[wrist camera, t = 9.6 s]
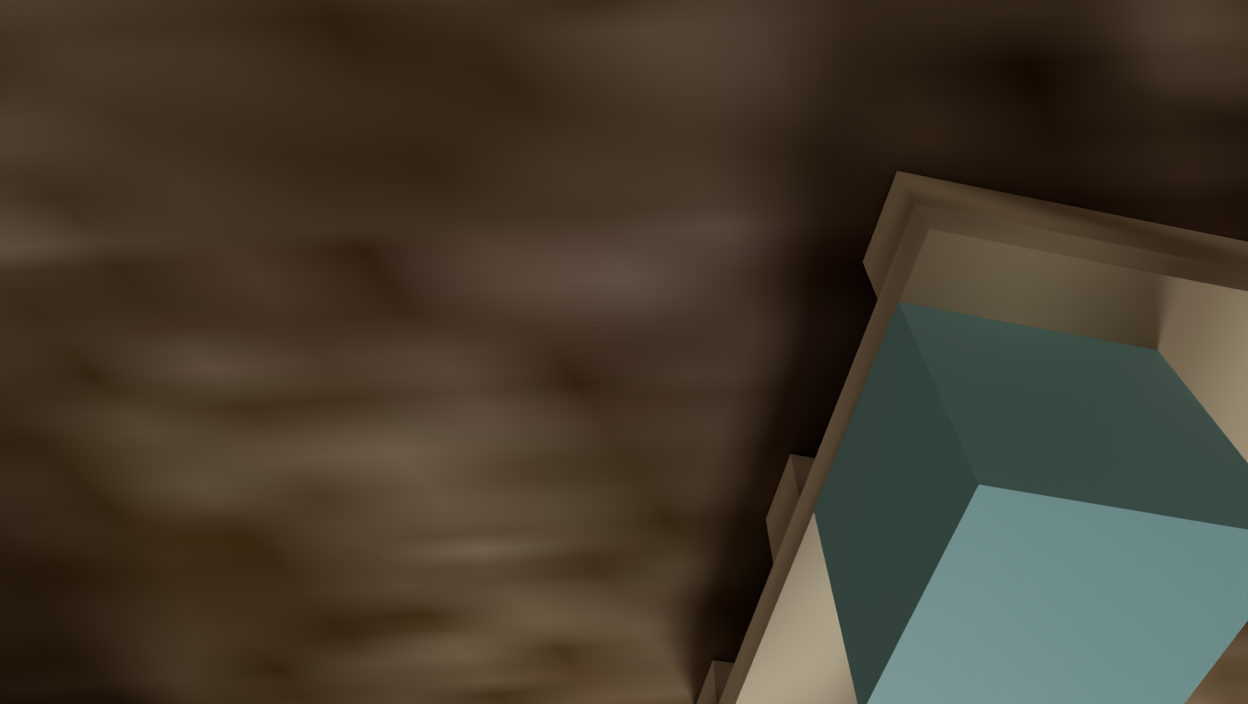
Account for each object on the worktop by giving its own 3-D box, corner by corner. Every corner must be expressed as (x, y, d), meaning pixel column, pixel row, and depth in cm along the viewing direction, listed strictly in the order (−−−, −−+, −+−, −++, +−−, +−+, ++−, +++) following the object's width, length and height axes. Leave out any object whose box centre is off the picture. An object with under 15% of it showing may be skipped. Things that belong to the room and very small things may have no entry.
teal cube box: (813, 510, 21) (860, 716, 17) (898, 301, 18) (979, 484, 14) (1043, 547, 22) (1143, 755, 17) (1157, 350, 19) (1309, 540, 15)
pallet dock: (694, 708, 28) (699, 791, 26) (896, 170, 20) (929, 229, 18) (1004, 751, 29) (1034, 834, 27) (1324, 256, 21) (1402, 321, 19)
